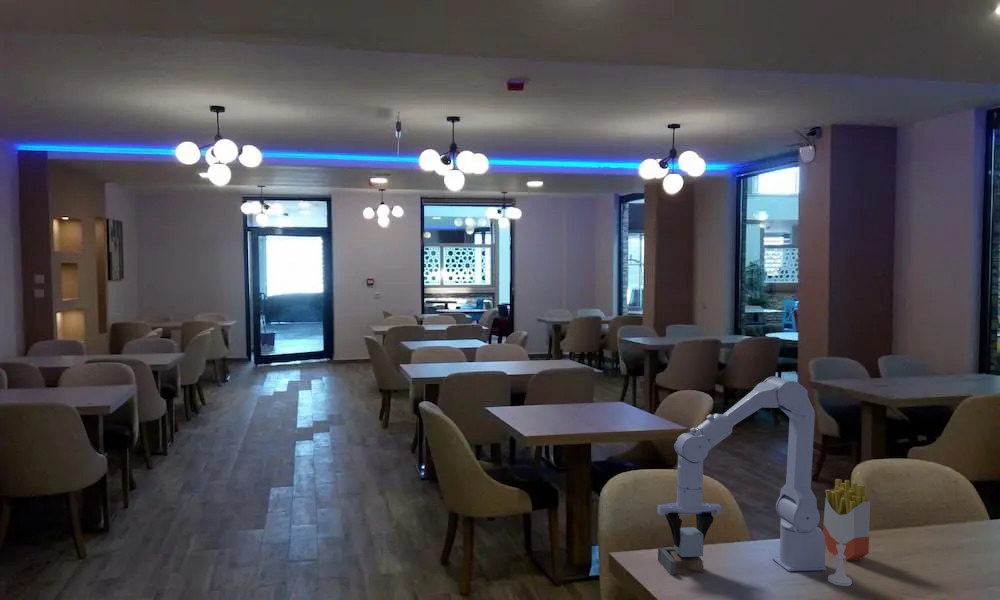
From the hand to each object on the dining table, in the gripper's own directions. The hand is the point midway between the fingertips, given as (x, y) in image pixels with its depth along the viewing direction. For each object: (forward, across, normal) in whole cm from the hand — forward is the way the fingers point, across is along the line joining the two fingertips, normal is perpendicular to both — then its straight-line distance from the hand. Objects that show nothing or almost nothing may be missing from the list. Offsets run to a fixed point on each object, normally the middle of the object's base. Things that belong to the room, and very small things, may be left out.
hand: (688, 545), depth 173 cm
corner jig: (+5, +1, 0) cm, 5 cm away
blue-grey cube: (+2, 0, 0) cm, 2 cm away
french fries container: (+5, -41, -5) cm, 42 cm away
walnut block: (+6, 0, 0) cm, 6 cm away
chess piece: (+5, -31, +10) cm, 33 cm away
